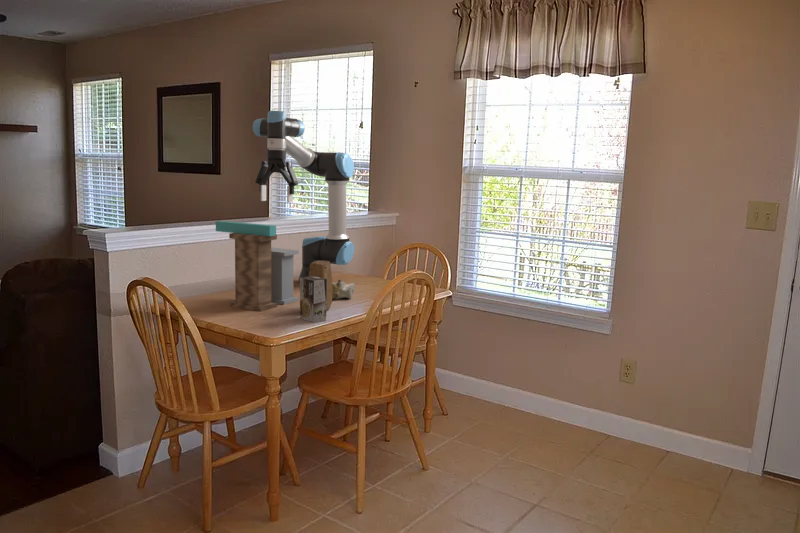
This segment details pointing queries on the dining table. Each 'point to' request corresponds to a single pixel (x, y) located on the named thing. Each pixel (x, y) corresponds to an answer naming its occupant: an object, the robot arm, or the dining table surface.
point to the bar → (246, 228)
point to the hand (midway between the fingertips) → (276, 201)
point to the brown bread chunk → (323, 271)
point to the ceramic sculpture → (342, 290)
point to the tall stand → (252, 271)
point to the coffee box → (313, 298)
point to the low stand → (282, 276)
